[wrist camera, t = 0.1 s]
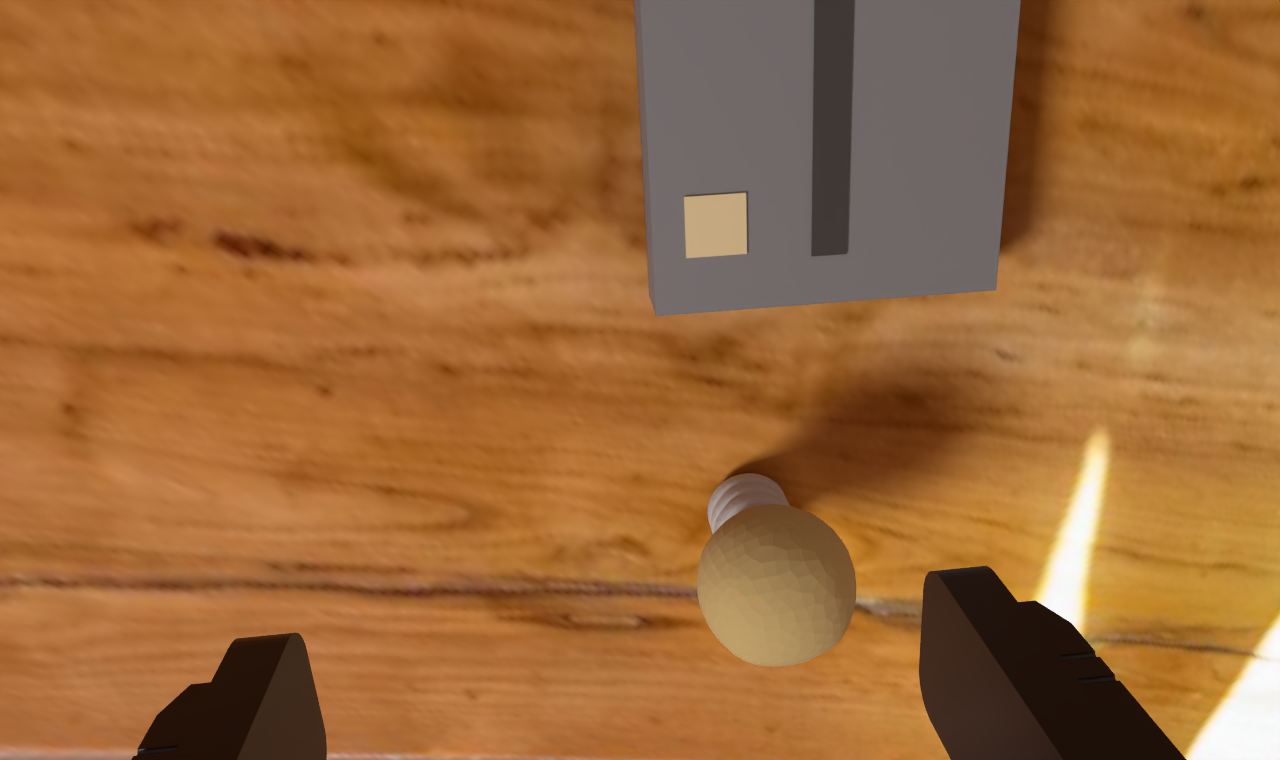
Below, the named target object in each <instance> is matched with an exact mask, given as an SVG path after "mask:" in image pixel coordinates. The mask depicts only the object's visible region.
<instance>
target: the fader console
mask: <svg viewBox="0 0 1280 760" xmlns="http://www.w3.org/2000/svg"><path fill="white" fill-rule="evenodd" d="M1020 4H1021V0H634V9H635V28H636V48H637V67H638V86H639V105H640V125H641V144H642V163H643V182H644V201H645V221H646V240H647V259H648V278H649V296H650V299H651V302H652V305H653V308H654V311H655V314H656V316H663V315H676V314H689V313H702V312H715V311H729V310H742V309H755V308H768V307H782V306H795V305H808V304H821V303H834V302H848V301H861V300H874V299H887V298H900V297H914V296H927V295H940V294H953V293H967V292H980V291H993V290H996V285H997V273H998V261H999V250H1000V238H1001V226H1002V215H1003V203H1004V191H1005V180H1006V168H1007V156H1008V144H1009V133H1010V121H1011V109H1012V98H1013V86H1014V74H1015V62H1016V51H1017V39H1018V27H1019V16H1020Z"/></svg>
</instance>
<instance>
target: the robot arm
mask: <svg viewBox="0 0 1280 760" xmlns="http://www.w3.org/2000/svg"><path fill="white" fill-rule="evenodd" d="M919 678H920V686H921V692H922V697H923V701H924V705H925V708H926V711H927V714H928V716H929V718H930V720H931V723H932V724H933V726H934V728H935V730H936V732H937V734H938V736H939V738H940V740H941V741H942V743H943V745H944V747H945V749H946V751H947V753H948V755H949V757H950V759H951V760H1186V759H1185V758H1184V756H1183V755H1182V754H1181V753H1180V752H1179V750H1178V749H1177V748H1176V747H1175V746H1174V745H1173V743H1172V742H1171V741H1170V740H1169V739H1168V737H1167V736H1166V735H1165V734H1164V733H1163V731H1162V730H1161V729H1160V728H1159V727H1158V726H1157V724H1156V723H1155V722H1154V721H1153V720H1152V718H1151V717H1150V716H1149V715H1148V714H1147V712H1146V711H1145V710H1144V709H1143V708H1142V707H1141V705H1140V704H1139V703H1138V702H1137V701H1136V699H1135V698H1134V697H1133V696H1132V695H1131V693H1130V692H1129V691H1128V690H1127V689H1126V688H1125V686H1124V685H1123V684H1122V683H1121V682H1120V681H1116V680H1115V674H1114V673H1113V672H1112V671H1111V670H1110V669H1109V667H1108V666H1107V665H1106V664H1105V663H1104V661H1103V660H1102V659H1101V658H1100V657H1096V655H1095V651H1094V650H1093V648H1092V647H1091V646H1090V645H1089V644H1088V642H1087V641H1086V640H1085V639H1084V638H1083V636H1082V635H1081V634H1080V633H1079V632H1078V631H1077V629H1076V628H1075V627H1074V626H1073V625H1072V623H1070V622H1069V621H1067V620H1065V619H1064V618H1062V617H1061V616H1059V615H1057V614H1056V613H1054V612H1053V611H1051V610H1049V609H1048V608H1046V607H1045V606H1043V605H1041V604H1040V603H1038V602H1037V601H1026V602H1017V600H1016V599H1015V598H1014V597H1013V595H1012V594H1011V593H1010V592H1009V590H1008V589H1007V588H1006V586H1005V585H1004V584H1003V583H1002V581H1001V580H1000V579H999V577H998V576H997V575H996V574H995V572H994V571H993V570H992V569H991V568H989V567H987V566H980V567H970V568H960V569H950V570H940V571H930V572H929V573H928V574H927V575H926V578H925V582H924V589H923V607H922V625H921V643H920V661H919ZM137 750H138V754H137V756H133V758H132V760H326V755H327V748H326V734H325V728H324V724H323V719H322V715H321V710H320V706H319V702H318V697H317V693H316V689H315V684H314V680H313V676H312V671H311V667H310V663H309V658H308V654H307V650H306V646H305V643H304V640H303V638H302V637H301V635H300V634H298V633H288V634H278V635H268V636H258V637H248V638H238V639H235V640H234V641H233V642H232V643H231V645H230V647H229V648H228V650H227V652H226V654H225V656H224V658H223V660H222V662H221V664H220V666H219V668H218V670H217V672H216V673H215V675H214V677H213V679H212V681H211V682H210V683H201V684H191V685H190V686H189V687H188V688H186V689H185V690H184V691H183V692H182V693H181V694H180V695H179V696H178V697H177V698H175V699H174V700H173V701H172V702H171V703H170V704H169V705H168V706H167V707H166V708H164V709H163V710H162V711H161V712H160V713H159V714H158V715H157V716H156V718H155V720H154V721H153V723H152V725H151V727H150V728H149V730H148V732H147V734H146V735H145V737H144V739H143V741H142V742H141V744H140V746H139V748H138V749H137Z"/></svg>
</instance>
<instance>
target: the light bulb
mask: <svg viewBox="0 0 1280 760" xmlns="http://www.w3.org/2000/svg"><path fill="white" fill-rule="evenodd" d="M708 520H709V523H710V526H711V530H712V533H713V535H712V537H711V538H710V540H709V541H708V543H707V544H706V546H705V549H704V551H703V553H702V556H701V559H700V563H699V566H698V572H697V592H698V598H699V604H700V607H701V609H702V612H703V614H704V617H705V619H706V622H707V624H708V626H709V627H710V629H711V630H712V632H713V633H714V634H715V636H716V637H717V638H718V640H719V641H720V642H721V643H722V644H723V645H724V646H725V647H726V648H727V649H728V650H729V651H730V652H731V653H733V654H734V655H736V656H738V657H739V658H741V659H743V660H744V661H746V662H749V663H752V664H756V665H762V666H788V665H794V664H799V663H802V662H806V661H809V660H811V659H813V658H815V657H817V656H819V655H821V654H823V653H825V652H827V651H828V650H830V649H831V648H832V647H834V646H835V645H836V644H837V643H838V642H839V641H840V640H841V638H842V637H843V635H844V634H845V632H846V630H847V628H848V626H849V624H850V621H851V618H852V615H853V612H854V607H855V601H856V579H855V570H854V567H853V564H852V561H851V558H850V555H849V552H848V550H847V548H846V547H845V545H844V543H843V542H842V540H841V539H840V538H839V537H838V535H837V534H836V533H835V531H834V530H833V529H832V528H831V527H830V526H828V525H827V524H826V523H825V522H824V521H822V520H821V519H820V518H818V517H816V516H815V515H813V514H812V513H809V512H807V511H805V510H802V509H799V508H796V507H792V506H790V505H789V503H788V501H787V499H786V497H785V495H784V492H783V491H782V489H781V488H780V486H779V485H778V484H777V483H776V482H774V481H773V480H771V479H770V478H768V477H766V476H763V475H760V474H754V473H745V474H739V475H736V476H733V477H730V478H729V479H727V480H725V481H724V482H723V483H721V484H720V485H719V486H718V488H717V489H716V490H715V491H714V493H713V495H712V496H711V498H710V500H709V505H708Z"/></svg>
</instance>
